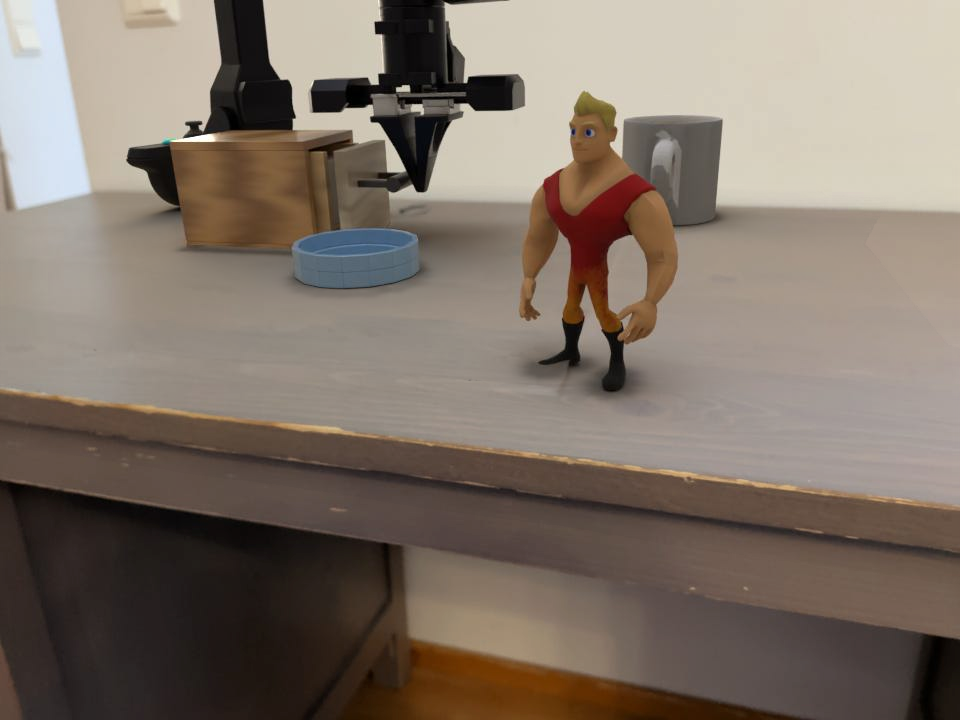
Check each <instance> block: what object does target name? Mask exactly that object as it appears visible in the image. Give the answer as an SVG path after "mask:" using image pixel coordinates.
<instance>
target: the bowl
mask: <svg viewBox="0 0 960 720" xmlns="http://www.w3.org/2000/svg"><path fill="white" fill-rule="evenodd" d="M419 247H420V246H419V239H418V235H416V234H414V233H412V232H410V231H407V230H402V229H394V228H385V227H384V228H359V229H343V230H336V231H329V232H322V233H318V234H314V235H310V236H306V237H304V238H302V239H299V240H297V241H295V242H294V244H293V246H292V249H291V254H292V262H293V270H294V277H295V279H296V280H297V281H299V282H301V283H302V284H303V285H308V286H312V287H313V286H314V287H317V288H324V289H325V288H326V289H327V288H329V289H357V288H371V287H376V286H383V285H388V284H394V283H397V282H401V281H403V280H405V279H409V278H412V277H413V276H414V275H416V274H418V272H419V271H420V270H421V267H420V249H419Z"/></svg>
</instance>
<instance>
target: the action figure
mask: <svg viewBox="0 0 960 720" xmlns="http://www.w3.org/2000/svg"><path fill="white" fill-rule="evenodd" d="M617 113H618V112H617V110H616V107H615V106H614V105H613V104H612V103H609V102H607V101H605V100H601V99H598V98H596V97H594V96H593V95H592V94H591V93H590V92H589V91H586V90H583V91H582V92H581V93H580V94H579V96H578V98H577V99H576V103H575V104H574V106H573V116H572V119H571V121H569V122H568V127H569V129H570V137H569V143H570V147H571V152H572V158H573V160H572V161H571V162H570V163H569V164H567V165H566V166H565V167H562V168H560V169H558V170H556V171H555V172H554V173H552V174H551V175H549V176H547V177H545V178H544V179H543V183H542V184H541V185H540V186H539V188H537V190H536V191H535V192H534V195H533V197H532V199H531V204H530V209H529V217H528V218H529V219H528V221H529V227H528V229H527V230H526V233H525V236H524V237H523V238H524V239H523V242H522V245H521V246H522V247H521V252H522V253H521V260H522V271H523V277H524V278H523V281H522V283H521V287H520V301H519V308H518V312H519V318H521V319H523V318H525V320H526V321H527V322H530V321H531V319H533V320H534V321H536V320H537V319H538V317H541V313H540V312H539V311H538V310H537V309H535V308H534V306H533V305H532V303H531V302H532V300H533V299H534V298H533V297H534V294H535V291H536V288H537V281H536V278H537V277H538V275H539V273H540V272H541V270H542V269H543V268H544V267H545V265H546V264H547V262H548V261H549V259H550V258H551V256H552V254H553V252H554V250H555V248H556V245H557V243H558V241H559V234H560V233H561V235H562V236H563V237H564V238H565V239H566V240H567V242H568V244H569V247H570V269H569V275H568V283H567V290H566V291H567V292H566V294H567V298H566V303H565V305H564V307H563V310H562V317H561V323H562V324H561V325H562V329H563V333H564V339H565V341H564V342H565V344H564V349H562V350H561V351H560V352H559V353H557V354H555V355H553V356H551V357H549V358H546V359H542V360H540V361H538V362H537V363H538V365H541V366H549V365H554V364H559V363H561V362H566V361H569V362H568V364H578V363H580V362H581V353H580V351H579V341H580V337H581V334H582V331H583V327H584V324H585V319H586V315H585V313H584V310H583V308H582V307H581V304H582V301H583V297H584V294H585V291H586V288H587V292H588V295H589V298H590V301H591V304H592V307H593V311H594V313H595V317H596V319H597V320H598V322H599V325H600V327H601V330H600V331H601V333H602V334H603V335H604V337H605V339H606V340H607V342H608V346H609V351H610V358H609V362H608V370H607V372H606V374H605V375H604V376H603V377H602V379H601V386H602V388H603V389H605V390H607V391H608V390H609V391H616V390H619V389H620V388H621V387H622V386H623V385H624V383H625V381H626V375H627V370H626V364H625V360H624V349H625V348H624V347H625V345H626V346H628V345H630V344H631V343H635V342H637V341H639V340H642V339H646V338H647V337H649V336H650V335H651V333H652V332H653V331H654V329H655V328H656V325H657V319H658V305H657V304H658V303H659V302H660V301H662V299H663V298H664V297H665V295H666V294H667V293H668V291H669V290H670V288H671V287H672V285H673V283H674V280H675V277H676V275H677V271H678V266H679V265H678V263H679V253H678V245H677V241H676V237H675V229H674V225H672V221H671V217H670V214H669V211H668V208H667V206H666V204H665V202H664V199H663V197H662V196H661V195H660V194H659V193H658V192H657V191H656V187H654V186H653V185H651V184H650V183H649V182H647V181H646V180H644V179H643V178H642V177H640V176H639V175H638V174H635V173H634V172H633V171H632V170H631V169H630V168H629V167H628V165H627V164H626V163H625V161H624V160H623V159H622V156H620V155H619V154H618V153H617V152H616V151H615V150H614V149H613V147H612V146H611V143H614V142H616V138H617V135H618V132H619V131H618V130H619V129H618V127H617V126H616V125H615V121H616V117H617ZM559 232H560V233H559ZM628 236H633V238H634V240H635V241H636V242H637V244H638V246H639V247H640V249H641V250H642V252H643V254H644V258H645V261H646V291H645V296H644V298H643V299H642V300H640V301H637V302H634V303H632V304H630V305H627V306H626V307H624V308H622V310H620V312H619V313H616V312H614V311H613V310H611V309H610V307H609V306H610V305H609V278H608V277H609V273H610V270H609V263H608V253H609V250H610V247H611V246H612V245H613V244H614V243H615V242H616V241H618V240H620V239H622V238H625V237H628ZM629 315H631V316H630V318H629V319H628V320H629V321H628V323H627V325H626V326H625V328H624V324H623V321H622V320H624V319H625V318H626V317H628V316H629Z"/></svg>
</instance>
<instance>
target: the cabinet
mask: <svg viewBox="0 0 960 720" xmlns="http://www.w3.org/2000/svg"><path fill="white" fill-rule="evenodd" d="M179 139H180V140H177V139H176V140H174V141H170V142H169V143H170V149H171V154H172V160H173V166H174V172H175V178H176V184H177V190H178V196H179V202H180V206H179V208H180V213H181V218H182V224H183V231H184V237H185V241H186V248H190V247H193V246H210V247H233V248H234V247H235V248H260V249H261V248H263V249H289V250H290V249H291V250H292V246H293V244H294V242H295V241H297V240H299V239H302V238H304V237H306V236H310V235H314V234H317V228H316V218H315V209H314V199H313V190H312V180H311V171H310V161H309V152H308V150H309V149H313V148H316V147H320V146H324V145H328V144H332V143H354V131H353V129H293V130H231V131H225V132H220V133H214V134H208V135H203V136H197V137H191V138H186V139H182V138H179Z"/></svg>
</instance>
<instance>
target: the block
mask: <svg viewBox="0 0 960 720" xmlns="http://www.w3.org/2000/svg"><path fill="white" fill-rule="evenodd" d="M327 158H328V168H329V178H330V189H331V199H332V209H333V220H334V225H335V224H337V223H340V218H339V207H338V196H337V186H336V175H335V164H334V156H327Z"/></svg>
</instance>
